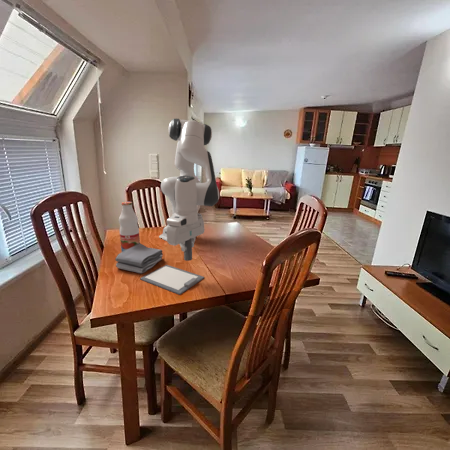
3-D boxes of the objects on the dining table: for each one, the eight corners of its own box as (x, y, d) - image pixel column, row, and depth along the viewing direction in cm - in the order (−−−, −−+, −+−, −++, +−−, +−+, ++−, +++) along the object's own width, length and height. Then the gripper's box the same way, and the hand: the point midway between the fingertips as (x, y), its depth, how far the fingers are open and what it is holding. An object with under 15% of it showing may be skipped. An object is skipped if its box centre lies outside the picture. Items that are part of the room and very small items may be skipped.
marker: (181, 259, 104) (180, 230, 101) (187, 256, 107) (186, 228, 104) (188, 261, 103) (188, 232, 99) (194, 258, 106) (193, 229, 102)
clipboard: (140, 279, 106) (139, 275, 105) (166, 265, 119) (166, 262, 118) (179, 294, 95) (179, 290, 94) (204, 278, 108) (204, 274, 108)
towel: (114, 270, 114) (113, 254, 112) (139, 255, 131) (138, 241, 129) (143, 275, 110) (141, 259, 107) (165, 259, 126) (164, 245, 124)
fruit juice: (142, 251, 136) (139, 200, 128) (137, 258, 127) (133, 204, 119) (125, 250, 136) (120, 200, 128) (119, 257, 126) (113, 204, 119)
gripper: (196, 211, 110) (196, 240, 114) (163, 221, 93) (165, 255, 97) (207, 213, 107) (207, 243, 111) (176, 223, 90) (177, 258, 94)
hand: (187, 249), depth 104 cm, fingers closed on marker, 3 cm apart
